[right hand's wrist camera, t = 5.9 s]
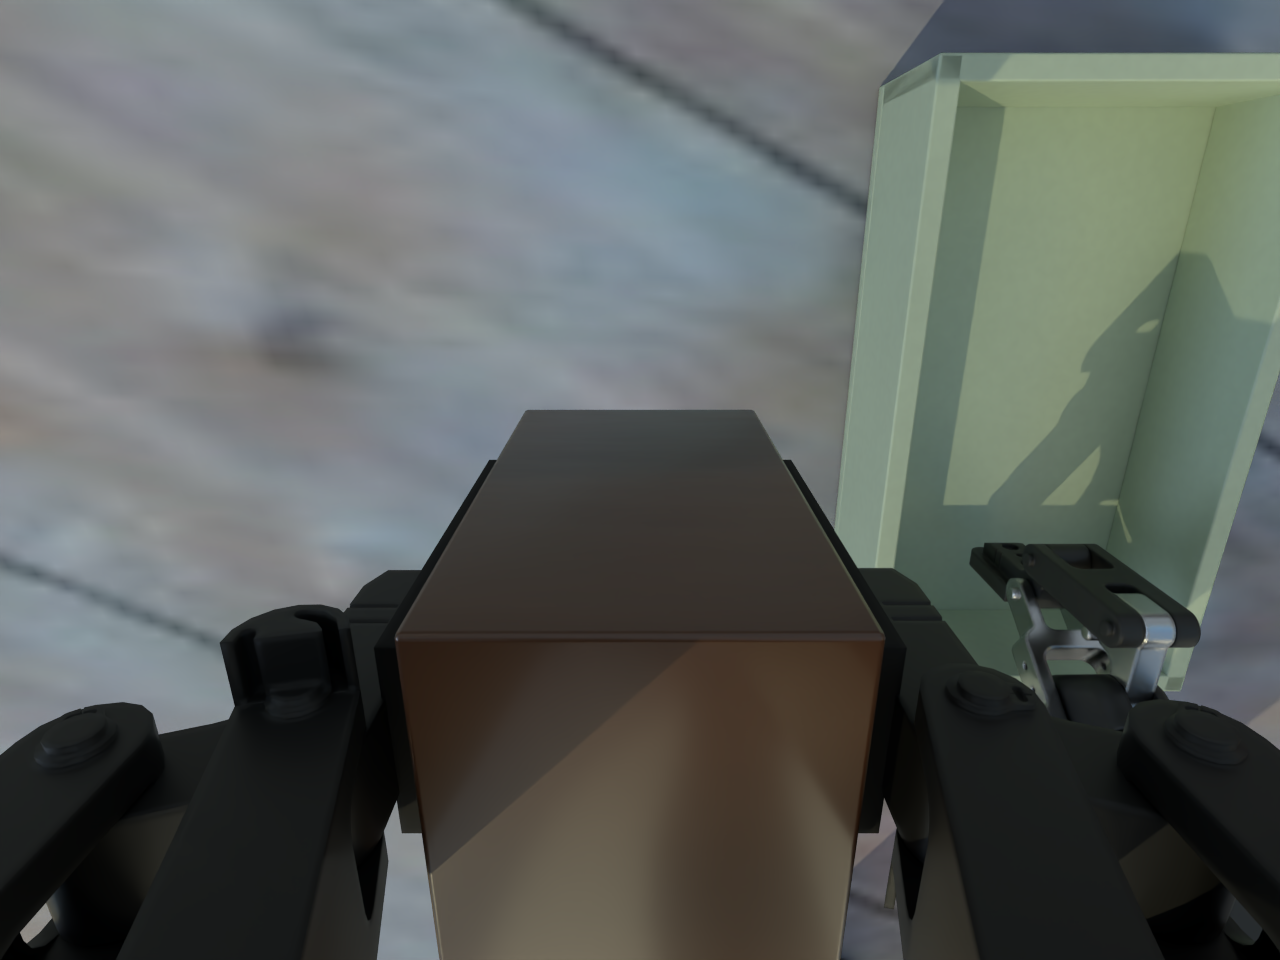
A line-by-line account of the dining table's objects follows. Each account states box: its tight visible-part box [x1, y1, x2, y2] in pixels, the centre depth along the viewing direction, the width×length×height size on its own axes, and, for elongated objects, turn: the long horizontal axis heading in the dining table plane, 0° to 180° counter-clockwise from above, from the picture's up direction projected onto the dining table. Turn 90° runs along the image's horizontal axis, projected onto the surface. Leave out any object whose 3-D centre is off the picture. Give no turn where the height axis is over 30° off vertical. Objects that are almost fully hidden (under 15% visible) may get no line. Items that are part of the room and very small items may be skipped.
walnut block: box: [394, 410, 885, 960], centre depth 11 cm, size 4×4×8 cm
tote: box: [834, 53, 1280, 691], centre depth 29 cm, size 24×14×6 cm, turn 0°
